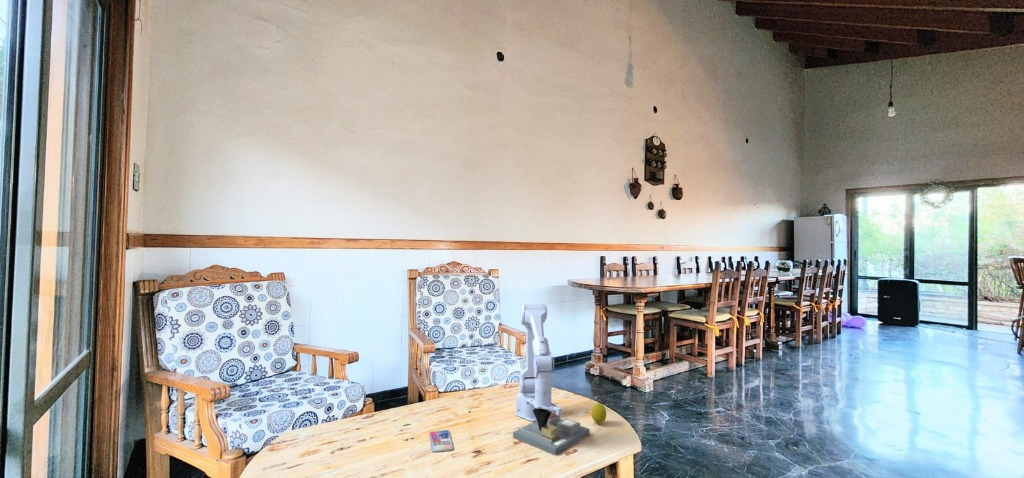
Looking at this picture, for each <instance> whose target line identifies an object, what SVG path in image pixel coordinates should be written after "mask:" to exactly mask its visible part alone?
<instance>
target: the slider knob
mask: <svg viewBox="0 0 1024 478" xmlns="http://www.w3.org/2000/svg"><path fill="white" fill-rule="evenodd" d="M541 436H542V437H545V438H547V439H550V440H552V441H553V440H555V439H556V438H558V427H556V426H553V425H550V424H547V425H545V426H543V427H542V432H541Z"/></svg>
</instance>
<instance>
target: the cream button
mask: <svg viewBox="0 0 1024 478" xmlns="http://www.w3.org/2000/svg"><path fill="white" fill-rule="evenodd" d="M570 420H571V419H570ZM570 420H565V421H563V422H561V424H563V425H566V426H569V427H572V426H573V425H575V424H576V422H577V421H576V422H573V421H574V420H573V421H570Z"/></svg>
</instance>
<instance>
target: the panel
mask: <svg viewBox="0 0 1024 478" xmlns="http://www.w3.org/2000/svg"><path fill="white" fill-rule="evenodd" d="M565 420H570V421H573V422H576V424H575V425H573V426H572V427H569V426H566V425H563V424H561V422H563V421H565ZM547 424H550V425H553V426H556V427H558V438H556V439H555V440H553V441H552V440H550V439H547V438H545V437H542V436H541V432H542V431H540V430H539V426H538V422H537V420H536V421H534V422H529V423H528V424H527V425H525V426H523V427H519V428H518V429H516V430H515V431H513V432H512V438H513V439H515V440H517V441H519V442H522V443H525V444H526V445H528V446H532V447H535V448H537V449H539V450H541V451H544V452H546V453H549V454H550V455H552V456H553V455H554V456H556V455H558V454H560V453H561V452H563V451H565V450H566V449H568V448H570V447H572V446H573V445H574V444H576V443H578V442H579V441H581V440H582V439H584V438H586V437H588V436H589V435H590V431H591V430H590V428H589V427H585V426H583V425H581V422H579V421H576V420H572V419H569V418H567V417H565V418H563V419H562V418H561V417H560V415H556V417H554V418H552V419H550V420H549V419H548V422H547Z"/></svg>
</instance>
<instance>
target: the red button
mask: <svg viewBox="0 0 1024 478" xmlns="http://www.w3.org/2000/svg"><path fill="white" fill-rule="evenodd" d="M554 417H556V413H553V412H552V413H551V415H550V417H549V420H550V419H552V418H554Z"/></svg>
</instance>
